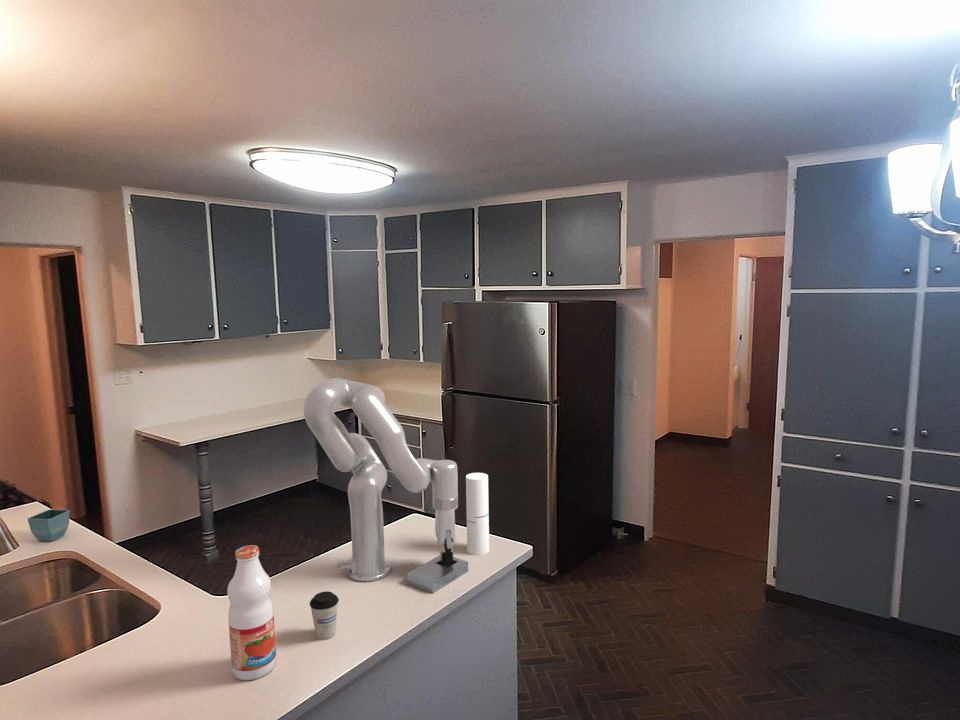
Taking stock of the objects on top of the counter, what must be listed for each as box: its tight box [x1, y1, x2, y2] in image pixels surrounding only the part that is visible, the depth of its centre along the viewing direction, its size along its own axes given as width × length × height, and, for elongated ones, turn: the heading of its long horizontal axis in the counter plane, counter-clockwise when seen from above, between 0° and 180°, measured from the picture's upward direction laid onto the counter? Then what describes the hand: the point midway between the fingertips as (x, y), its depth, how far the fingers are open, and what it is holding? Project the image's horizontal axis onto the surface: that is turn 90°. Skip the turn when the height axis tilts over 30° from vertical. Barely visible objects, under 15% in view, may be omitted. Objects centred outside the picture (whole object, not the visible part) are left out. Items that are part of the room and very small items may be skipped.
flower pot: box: [27, 509, 70, 542], centre depth 205 cm, size 9×9×9 cm
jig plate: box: [406, 554, 469, 594], centre depth 173 cm, size 16×10×3 cm, turn 143°
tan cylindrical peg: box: [439, 540, 454, 568], centre depth 176 cm, size 4×4×8 cm
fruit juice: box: [226, 544, 277, 681], centre depth 131 cm, size 9×9×28 cm
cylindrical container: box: [465, 472, 490, 556], centre depth 190 cm, size 7×7×25 cm
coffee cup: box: [309, 590, 340, 641], centre depth 145 cm, size 7×7×10 cm
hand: (446, 560), depth 176 cm, fingers closed on tan cylindrical peg, 3 cm apart
